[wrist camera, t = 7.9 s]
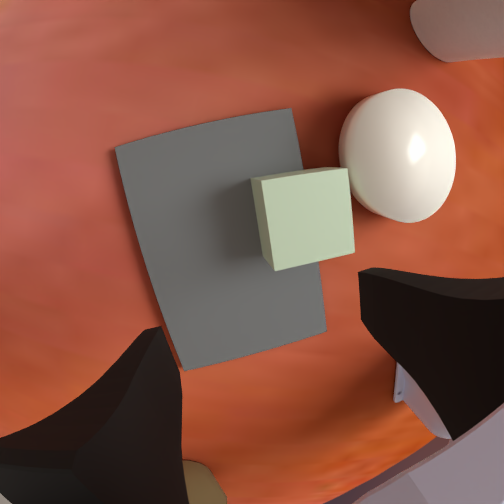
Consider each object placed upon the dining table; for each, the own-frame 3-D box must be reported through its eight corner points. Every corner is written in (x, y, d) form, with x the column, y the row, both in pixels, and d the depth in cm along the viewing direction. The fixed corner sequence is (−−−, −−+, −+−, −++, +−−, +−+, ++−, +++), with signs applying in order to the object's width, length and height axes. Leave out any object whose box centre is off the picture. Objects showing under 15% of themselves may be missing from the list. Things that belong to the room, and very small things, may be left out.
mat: (323, 327, 23) (326, 331, 23) (184, 366, 22) (184, 371, 22) (288, 109, 19) (291, 108, 18) (116, 148, 17) (114, 147, 17)
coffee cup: (378, 19, 18) (525, -51, 3) (414, -28, 16) (524, -83, 2) (454, 99, 20) (601, 94, 6) (478, 41, 19) (593, 23, 5)
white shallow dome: (434, 203, 23) (459, 209, 20) (343, 226, 21) (365, 236, 19) (420, 95, 20) (445, 90, 17) (321, 98, 19) (341, 89, 16)
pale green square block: (333, 240, 21) (354, 252, 18) (262, 255, 20) (274, 271, 17) (326, 166, 19) (347, 168, 17) (250, 178, 19) (261, 180, 16)
